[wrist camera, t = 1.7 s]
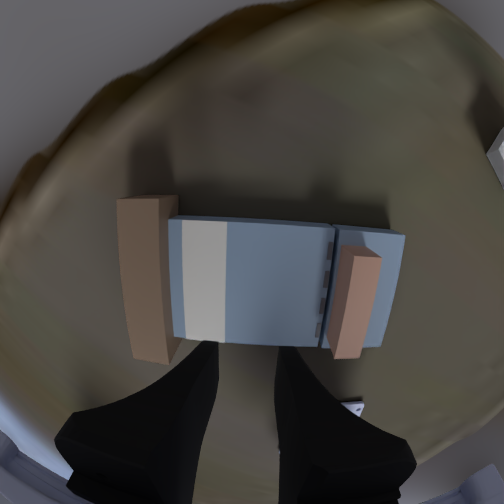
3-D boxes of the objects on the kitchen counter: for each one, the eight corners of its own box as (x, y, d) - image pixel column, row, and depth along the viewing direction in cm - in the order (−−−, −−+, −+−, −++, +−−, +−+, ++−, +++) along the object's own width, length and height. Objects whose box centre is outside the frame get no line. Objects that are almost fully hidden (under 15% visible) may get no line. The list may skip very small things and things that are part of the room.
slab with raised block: (371, 333, 21) (392, 366, 17) (317, 333, 22) (328, 370, 17) (392, 229, 19) (425, 244, 14) (332, 224, 19) (353, 238, 14)
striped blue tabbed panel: (310, 346, 22) (317, 376, 18) (151, 333, 23) (133, 358, 19) (329, 203, 19) (345, 208, 15) (142, 195, 20) (116, 198, 16)
